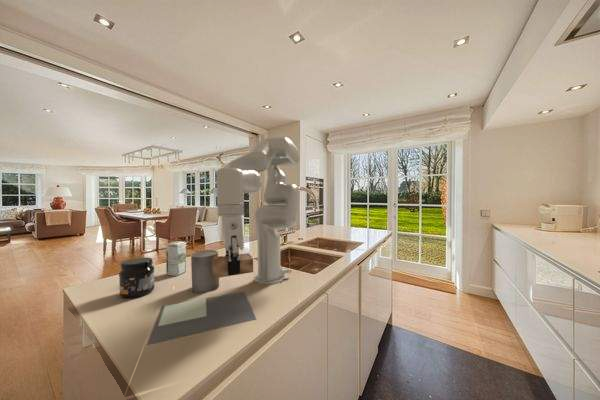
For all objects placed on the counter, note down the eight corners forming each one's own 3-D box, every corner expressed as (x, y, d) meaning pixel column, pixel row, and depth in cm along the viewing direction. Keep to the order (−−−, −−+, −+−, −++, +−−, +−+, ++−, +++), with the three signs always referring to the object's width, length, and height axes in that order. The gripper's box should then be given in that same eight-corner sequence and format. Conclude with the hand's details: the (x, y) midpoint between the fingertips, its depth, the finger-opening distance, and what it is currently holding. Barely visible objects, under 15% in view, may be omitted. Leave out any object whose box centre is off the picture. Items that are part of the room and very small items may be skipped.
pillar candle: (215, 281, 92) (214, 245, 92) (222, 288, 84) (221, 249, 84) (189, 287, 86) (188, 249, 86) (194, 296, 78) (193, 254, 78)
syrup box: (175, 271, 104) (174, 241, 104) (186, 271, 104) (186, 241, 103) (166, 275, 99) (165, 243, 99) (178, 276, 98) (177, 243, 98)
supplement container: (116, 293, 81) (115, 261, 80) (149, 284, 89) (148, 255, 88) (123, 302, 74) (122, 267, 74) (158, 292, 82) (158, 260, 82)
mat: (244, 292, 81) (244, 290, 81) (256, 320, 62) (256, 318, 62) (161, 307, 70) (161, 305, 70) (147, 346, 52) (147, 344, 52)
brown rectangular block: (249, 265, 71) (248, 252, 70) (253, 272, 65) (253, 258, 64) (212, 270, 66) (211, 257, 66) (213, 278, 60) (212, 263, 60)
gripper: (249, 212, 58) (251, 278, 59) (239, 207, 74) (240, 260, 75) (219, 213, 55) (221, 283, 56) (215, 208, 71) (217, 263, 72)
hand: (232, 269), depth 65 cm, fingers closed on brown rectangular block, 6 cm apart
